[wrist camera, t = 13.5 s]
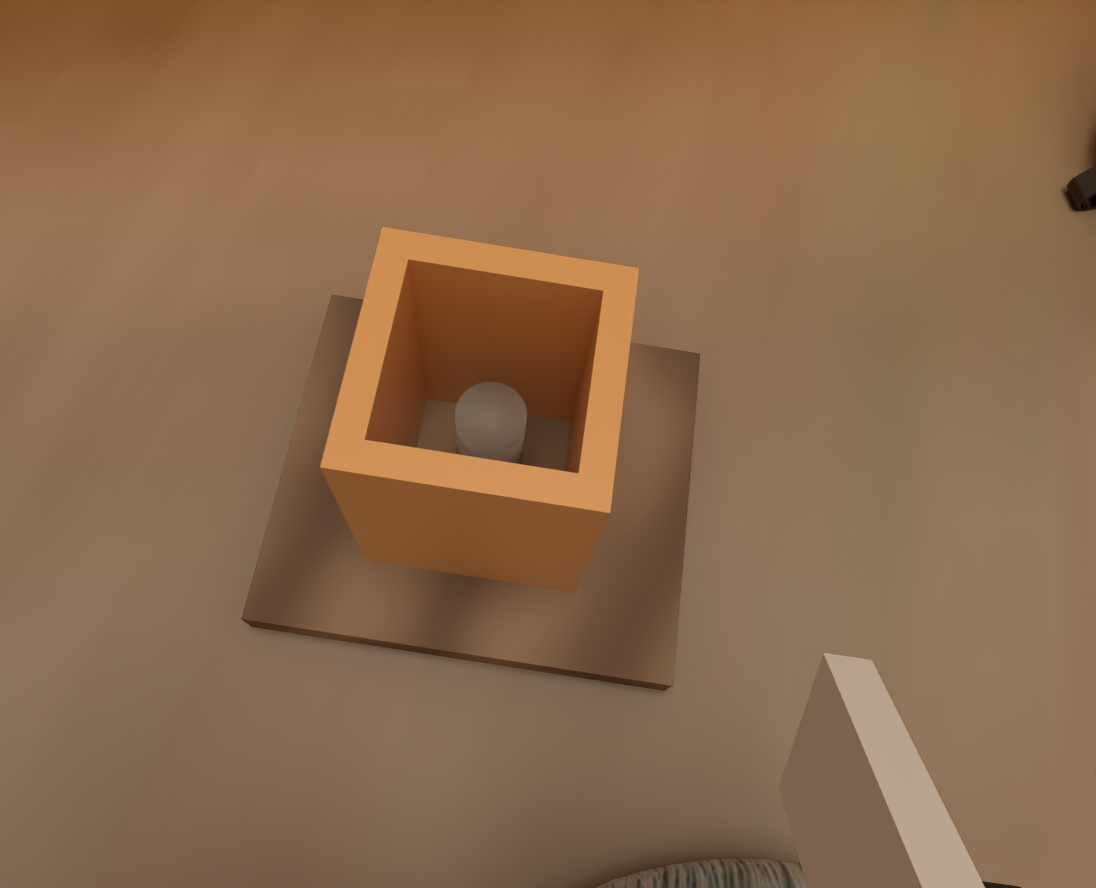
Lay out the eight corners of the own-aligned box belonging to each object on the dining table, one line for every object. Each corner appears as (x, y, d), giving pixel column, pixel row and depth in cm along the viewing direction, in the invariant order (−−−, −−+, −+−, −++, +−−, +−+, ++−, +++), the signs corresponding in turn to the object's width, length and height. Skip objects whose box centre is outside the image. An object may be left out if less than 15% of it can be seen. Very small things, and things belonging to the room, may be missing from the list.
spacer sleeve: (365, 559, 33) (320, 467, 24) (407, 373, 36) (382, 226, 27) (573, 592, 33) (610, 512, 24) (598, 404, 36) (639, 268, 27)
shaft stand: (251, 626, 33) (190, 581, 26) (336, 312, 38) (305, 206, 31) (664, 690, 33) (713, 662, 26) (692, 369, 39) (738, 276, 32)
